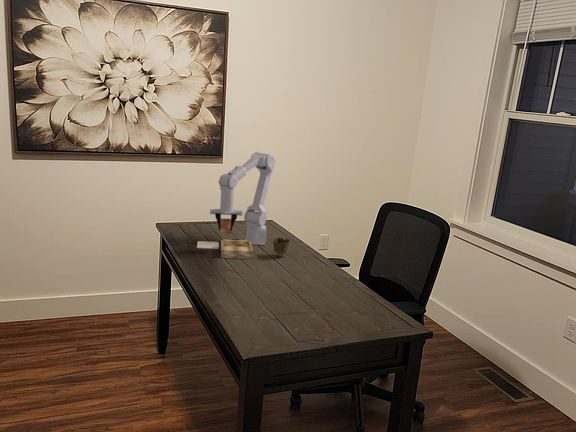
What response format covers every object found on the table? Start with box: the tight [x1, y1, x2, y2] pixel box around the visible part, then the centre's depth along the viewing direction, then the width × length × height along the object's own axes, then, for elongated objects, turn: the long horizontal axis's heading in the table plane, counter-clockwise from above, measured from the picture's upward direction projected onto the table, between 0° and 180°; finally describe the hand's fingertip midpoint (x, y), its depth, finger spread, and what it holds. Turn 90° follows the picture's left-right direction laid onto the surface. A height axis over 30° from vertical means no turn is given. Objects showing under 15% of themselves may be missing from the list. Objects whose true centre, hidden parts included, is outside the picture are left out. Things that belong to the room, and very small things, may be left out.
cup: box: [273, 237, 290, 258], centre depth 241 cm, size 8×7×8 cm
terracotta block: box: [219, 217, 232, 235], centre depth 240 cm, size 4×4×6 cm
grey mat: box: [196, 240, 220, 250], centre depth 248 cm, size 10×10×1 cm
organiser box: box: [220, 239, 254, 260], centre depth 241 cm, size 14×16×4 cm
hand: (225, 230), depth 240 cm, fingers closed on terracotta block, 4 cm apart
